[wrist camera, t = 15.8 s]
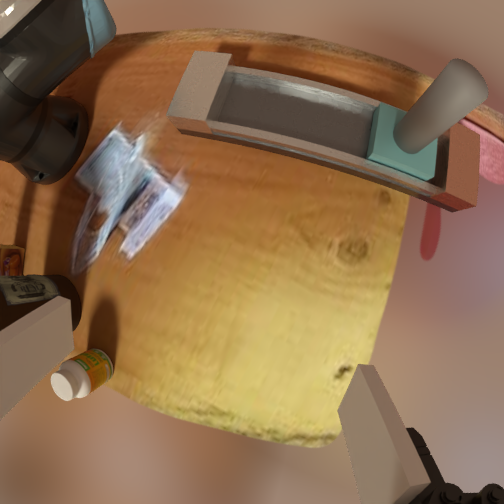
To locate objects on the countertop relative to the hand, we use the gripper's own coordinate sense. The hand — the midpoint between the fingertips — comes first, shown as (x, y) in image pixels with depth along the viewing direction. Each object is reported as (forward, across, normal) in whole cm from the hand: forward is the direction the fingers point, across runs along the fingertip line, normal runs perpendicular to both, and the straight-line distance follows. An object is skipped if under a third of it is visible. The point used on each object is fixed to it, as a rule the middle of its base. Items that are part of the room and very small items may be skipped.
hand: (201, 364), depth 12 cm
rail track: (+27, +8, +16) cm, 33 cm away
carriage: (+24, +16, +16) cm, 33 cm away
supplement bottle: (+22, -18, -21) cm, 35 cm away
